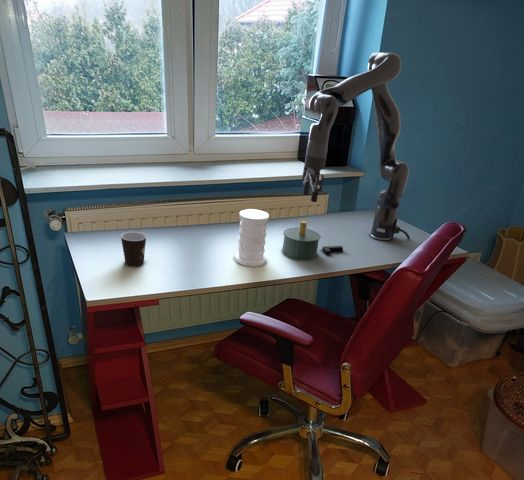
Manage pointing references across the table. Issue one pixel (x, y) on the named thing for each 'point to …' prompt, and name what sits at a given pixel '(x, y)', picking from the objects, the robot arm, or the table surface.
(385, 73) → the robot arm
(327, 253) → the hex key
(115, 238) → the table surface
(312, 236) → the tin lid
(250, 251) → the decorative container
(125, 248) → the coffee mug
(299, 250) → the tin
